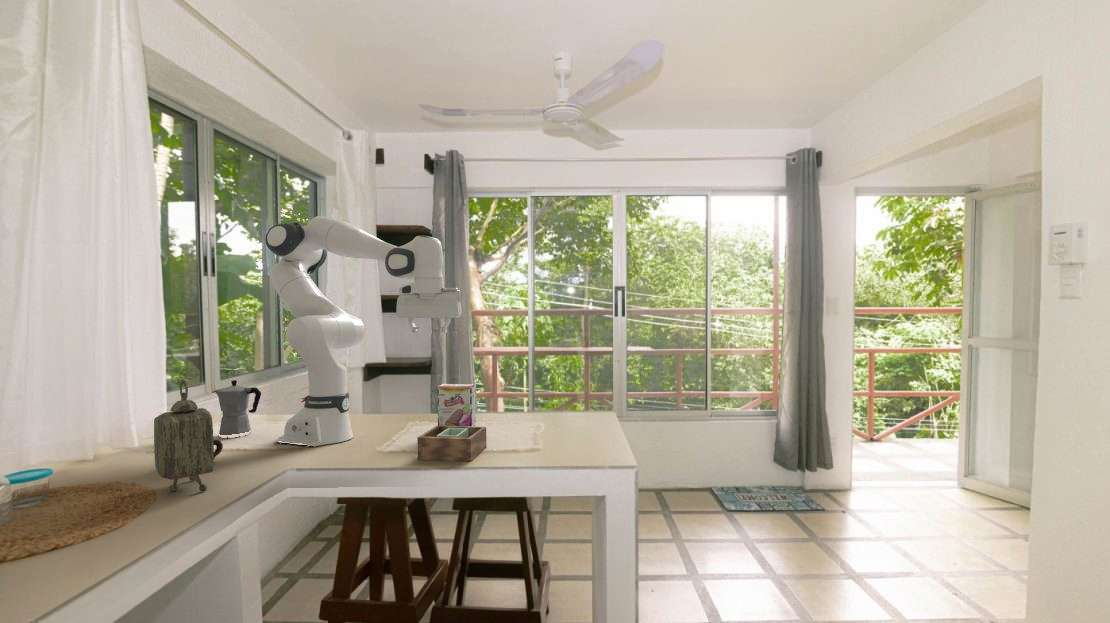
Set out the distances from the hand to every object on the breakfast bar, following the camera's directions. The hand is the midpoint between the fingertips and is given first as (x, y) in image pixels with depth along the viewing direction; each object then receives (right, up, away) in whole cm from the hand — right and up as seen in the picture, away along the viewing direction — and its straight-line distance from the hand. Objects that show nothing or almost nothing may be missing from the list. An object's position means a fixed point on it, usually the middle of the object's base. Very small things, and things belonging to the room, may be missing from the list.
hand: (429, 332), depth 164 cm
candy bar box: (+8, -33, +3) cm, 34 cm away
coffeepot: (-64, -34, +8) cm, 73 cm away
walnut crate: (+10, -33, -15) cm, 38 cm away
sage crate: (+10, -32, -15) cm, 37 cm away
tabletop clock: (-46, -34, -42) cm, 72 cm away
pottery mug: (-56, -34, -24) cm, 70 cm away
